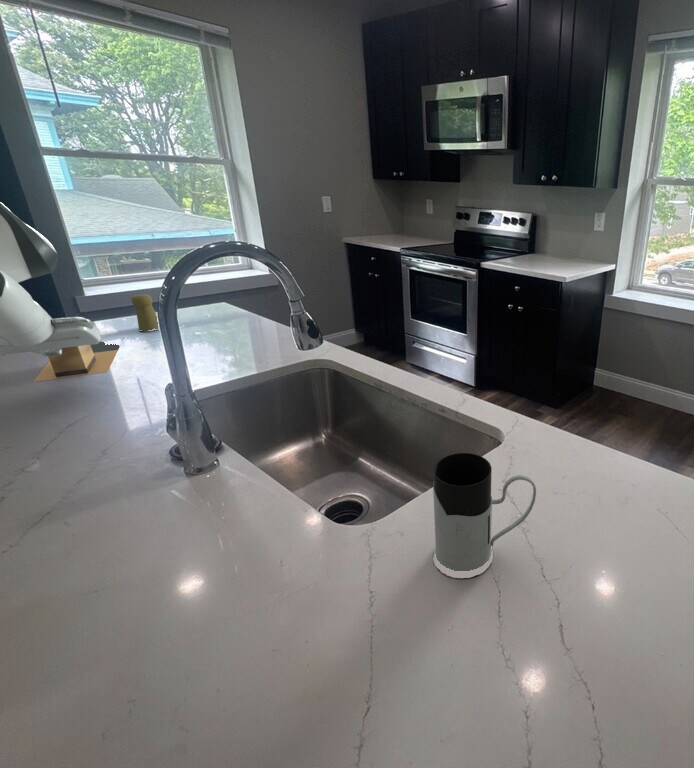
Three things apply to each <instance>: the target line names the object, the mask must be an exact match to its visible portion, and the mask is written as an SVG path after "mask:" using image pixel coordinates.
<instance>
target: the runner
mask: <svg viewBox="0 0 694 768" xmlns="http://www.w3.org/2000/svg"><path fill="white" fill-rule="evenodd" d="M91 348H92V351H93V354H94V355H95V358H96V360H95V362H94V364H93V365H92V367H91V369H90V371H89V372H88V373H84V374H77V375H69V376H62V377H56V376H55V372H54V370H53V367H52V365H51V363H50V360H49V361H48V362H47V363H46V365H44V367H43V369H42V370H41V371H40V372H39V374H38V375H37V376H36V377H35V378H34V380H33V381H32V382H33V383H35V382H42V381H43V382H45V381H52V380H57V379H59V380H60V379H67V378H73V377H80V376H88V375H96V374H102V373H103V374H104V373H108V372H109V370H110V368H111V366H112V364H113V363H114V360H115V359H116V356H117V353H118V351H119V349H120V348H121V345H120V346H119V345H116V344H115V345H114V344H113V345H112V344H110V345H108V344H107V345H105V343H104V342H101V341H100V342H99V343H98V344H93V345H91Z"/></svg>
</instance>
